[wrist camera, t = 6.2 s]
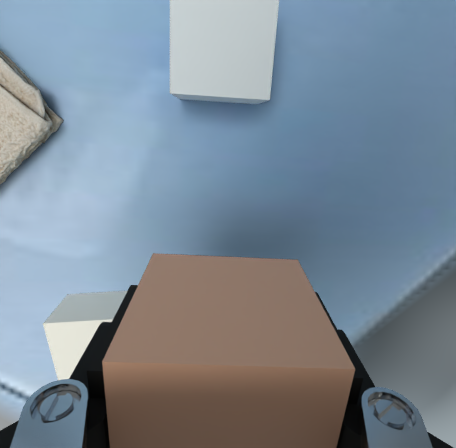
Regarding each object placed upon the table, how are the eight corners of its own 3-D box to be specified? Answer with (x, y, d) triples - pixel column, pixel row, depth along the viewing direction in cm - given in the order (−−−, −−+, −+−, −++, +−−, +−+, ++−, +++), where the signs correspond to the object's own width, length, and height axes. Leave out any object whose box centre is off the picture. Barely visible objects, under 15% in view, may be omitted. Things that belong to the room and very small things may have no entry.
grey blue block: (264, 16, 19) (280, -18, 14) (257, 104, 21) (269, 100, 16) (181, 9, 19) (169, -28, 14) (180, 99, 20) (169, 93, 16)
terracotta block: (297, 259, 11) (355, 369, 6) (281, 372, 13) (317, 525, 8) (153, 253, 11) (102, 361, 6) (155, 369, 13) (116, 524, 8)
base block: (185, 285, 25) (180, 314, 21) (194, 376, 28) (191, 417, 24) (69, 292, 25) (42, 323, 21) (90, 383, 28) (70, 425, 24)
